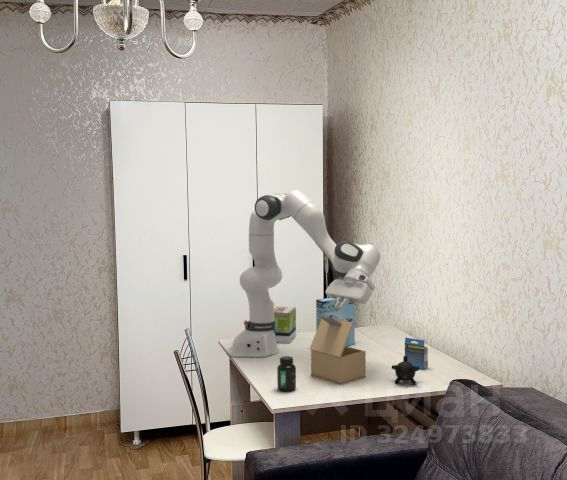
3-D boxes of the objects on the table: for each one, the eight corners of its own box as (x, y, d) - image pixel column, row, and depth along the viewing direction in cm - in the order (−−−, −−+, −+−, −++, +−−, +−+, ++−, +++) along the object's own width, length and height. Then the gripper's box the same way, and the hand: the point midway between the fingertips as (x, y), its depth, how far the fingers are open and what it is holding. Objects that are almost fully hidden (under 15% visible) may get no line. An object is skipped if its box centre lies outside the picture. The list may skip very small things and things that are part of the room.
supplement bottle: (284, 393, 260) (284, 361, 258) (273, 388, 265) (273, 357, 264) (299, 389, 264) (299, 358, 262) (288, 385, 269) (288, 354, 268)
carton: (335, 368, 290) (335, 343, 289) (365, 377, 279) (365, 351, 277) (311, 375, 281) (311, 350, 280) (340, 384, 269) (340, 357, 268)
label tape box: (428, 367, 291) (428, 338, 290) (424, 370, 288) (424, 340, 286) (408, 364, 296) (408, 335, 295) (404, 366, 293) (404, 337, 291)
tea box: (290, 343, 333) (290, 312, 332) (269, 342, 335) (269, 311, 334) (296, 336, 348) (296, 306, 346) (276, 335, 350) (275, 305, 348)
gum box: (348, 342, 334) (348, 294, 332) (355, 344, 330) (355, 295, 327) (315, 349, 323) (315, 299, 320) (322, 351, 318) (322, 300, 316)
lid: (324, 317, 284) (310, 308, 278) (354, 323, 272) (340, 314, 266) (311, 349, 280) (296, 341, 274) (340, 357, 268) (326, 348, 263)
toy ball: (384, 378, 266) (386, 362, 277) (404, 397, 267) (405, 379, 278) (405, 362, 262) (405, 346, 273) (425, 380, 263) (425, 364, 274)
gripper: (332, 272, 289) (315, 299, 283) (371, 278, 273) (353, 306, 268) (340, 282, 292) (323, 309, 287) (378, 288, 277) (361, 316, 271)
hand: (338, 308), depth 277 cm, fingers closed
